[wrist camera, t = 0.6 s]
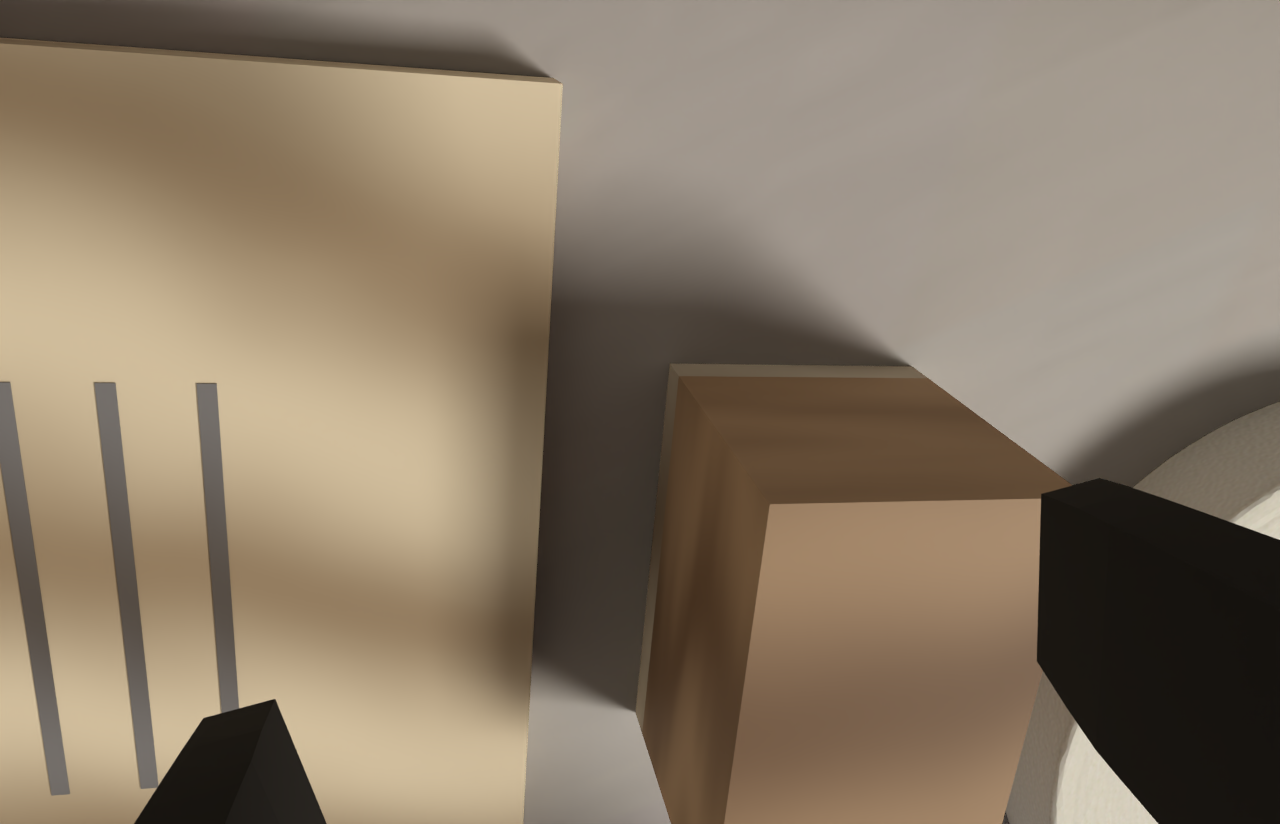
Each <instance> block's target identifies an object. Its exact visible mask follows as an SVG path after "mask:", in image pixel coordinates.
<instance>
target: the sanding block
mask: <svg viewBox="0 0 1280 824" xmlns="http://www.w3.org/2000/svg"><path fill="white" fill-rule="evenodd" d="M1069 486H1072V485H1071V484H1070V483H1069V482H1067V481H1066V480H1065V479H1063V478H1062V477H1060V476H1059V475H1058V474H1056V473H1055V472H1054V471H1052V470H1051V469H1050V468H1048V467H1047V466H1046V465H1044V464H1043V463H1042V462H1040V461H1039V460H1038V459H1036V458H1035V457H1034V456H1032V455H1031V454H1029V453H1028V452H1027V451H1025V450H1024V449H1023V448H1021V447H1020V446H1019V445H1017V444H1016V443H1015V442H1013V441H1012V440H1011V439H1009V438H1008V437H1007V436H1005V435H1004V434H1002V433H1001V432H1000V431H998V430H997V429H996V428H994V427H993V426H992V425H990V424H989V423H988V422H986V421H985V420H984V419H982V418H981V417H980V416H978V415H977V414H976V413H974V412H973V411H971V410H970V409H969V408H967V407H966V406H965V405H963V404H962V403H961V402H959V401H958V400H957V399H955V398H954V397H953V396H951V395H950V394H949V393H947V392H946V391H945V390H943V389H942V388H940V387H939V386H938V385H936V384H935V383H934V382H932V381H931V380H930V379H928V378H927V377H926V376H924V375H923V374H922V373H920V372H919V371H918V370H916V369H915V368H913V367H912V366H840V365H754V364H670V366H669V377H668V387H667V397H666V407H665V417H664V427H663V437H662V448H661V458H660V468H659V478H658V488H657V498H656V508H655V519H654V529H653V539H652V549H651V559H650V569H649V579H648V590H647V600H646V610H645V620H644V630H643V640H642V650H641V661H640V671H639V681H638V691H637V701H636V711H635V712H636V715H637V718H638V722H639V725H640V728H641V731H642V734H643V737H644V740H645V743H646V747H647V750H648V753H649V756H650V759H651V762H652V765H653V768H654V772H655V775H656V778H657V781H658V784H659V787H660V790H661V793H662V797H663V800H664V803H665V806H666V809H667V812H668V815H669V818H670V821H671V824H1002V822H1003V819H1004V815H1005V811H1006V807H1007V804H1008V800H1009V796H1010V792H1011V789H1012V785H1013V781H1014V777H1015V774H1016V770H1017V766H1018V762H1019V759H1020V755H1021V751H1022V747H1023V744H1024V740H1025V736H1026V732H1027V729H1028V725H1029V721H1030V717H1031V714H1032V710H1033V706H1034V702H1035V699H1036V695H1037V691H1038V687H1039V684H1040V680H1041V676H1042V672H1043V670H1042V669H1041V667H1040V666H1039V664H1038V662H1037V629H1038V592H1039V555H1040V517H1041V494H1043V493H1046V492H1050V491H1054V490H1058V489H1061V488H1065V487H1069Z"/></svg>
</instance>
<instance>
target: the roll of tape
mask: <svg viewBox="0 0 1280 824" xmlns="http://www.w3.org/2000/svg"><path fill="white" fill-rule="evenodd" d="M1133 488H1134V489H1138V490H1141V491H1144V492H1147V493H1150V494H1153V495H1156V496H1159V497H1162V498H1164V499H1167V500H1170V501H1173V502H1176V503H1179V504H1182V505H1184V506H1187V507H1190V508H1193V509H1196V510H1199V511H1201V512H1204V513H1207V514H1210V515H1212V516H1215V517H1218V518H1221V519H1223V520H1226V521H1229V522H1232V523H1235V524H1237V525H1240V526H1243V527H1246V528H1248V529H1251V530H1254V531H1257V532H1259V533H1262V534H1265V535H1268V536H1270V537H1273V538H1276V539H1279V540H1280V402H1277V403H1274V404H1271V405H1269V406H1267V407H1264V408H1262V409H1259V410H1257V411H1254V412H1252V413H1249V414H1247V415H1245V416H1243V417H1240V418H1238V419H1236V420H1234V421H1232V422H1230V423H1228V424H1226V425H1224V426H1222V427H1220V428H1218V429H1216V430H1214V431H1213V432H1211V433H1209V434H1208V435H1206V436H1204V437H1203V438H1201V439H1199V440H1197V441H1196V442H1194V443H1192V444H1191V445H1189V446H1188V447H1186V448H1185V449H1183V450H1182V451H1180V452H1179V453H1177V454H1176V455H1174V456H1173V457H1171V458H1170V459H1168V460H1167V461H1166V462H1164V463H1163V464H1162V465H1160V466H1159V467H1158V468H1156V469H1155V470H1154V471H1152V472H1151V473H1150V474H1149V475H1148V476H1146V477H1145V478H1144V479H1143V480H1141V481H1140V482H1139V483H1138V484H1137V485H1135V486H1134V487H1133ZM1006 814H1007V817H1008V821H1009V824H1158V823H1157V822H1156V821H1155V819H1154V818H1153V817H1152V816H1151V815H1150V814H1149V812H1148V811H1147V810H1146V809H1145V808H1144V807H1143V805H1142V804H1141V803H1140V802H1139V801H1138V800H1137V798H1136V797H1135V796H1134V795H1133V794H1132V793H1131V791H1130V790H1129V789H1128V788H1127V787H1126V786H1125V784H1124V783H1123V782H1122V781H1121V780H1120V779H1119V777H1118V776H1117V775H1116V774H1115V773H1114V772H1113V770H1112V769H1111V768H1110V767H1109V766H1108V764H1107V763H1106V762H1105V761H1104V760H1103V758H1102V757H1101V756H1100V755H1099V754H1098V752H1097V751H1096V750H1095V748H1094V747H1093V745H1092V744H1091V743H1090V741H1089V740H1088V738H1087V737H1086V735H1085V734H1084V732H1083V731H1082V730H1081V728H1080V727H1079V725H1078V724H1077V722H1076V721H1075V719H1074V718H1073V716H1072V715H1071V714H1070V712H1069V711H1068V709H1067V708H1066V706H1065V705H1064V703H1063V701H1062V700H1061V698H1060V697H1059V695H1058V694H1057V692H1056V690H1055V689H1054V687H1053V686H1052V684H1051V683H1050V681H1049V680H1048V678H1047V676H1046V675H1045V673H1044V672H1042V676H1041V680H1040V684H1039V687H1038V691H1037V695H1036V699H1035V702H1034V706H1033V710H1032V714H1031V717H1030V721H1029V725H1028V729H1027V732H1026V736H1025V740H1024V744H1023V747H1022V751H1021V755H1020V759H1019V762H1018V766H1017V770H1016V774H1015V777H1014V781H1013V785H1012V789H1011V792H1010V796H1009V800H1008V804H1007V807H1006Z"/></svg>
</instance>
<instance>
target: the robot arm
mask: <svg viewBox="0 0 1280 824" xmlns="http://www.w3.org/2000/svg"><path fill="white" fill-rule="evenodd" d="M1037 662H1038V664H1039V666H1040V667H1041V669H1042V670H1043V672H1044V673H1045V675H1046V676H1047V678H1048V680H1049V681H1050V683H1051V684H1052V686H1053V687H1054V689H1055V690H1056V692H1057V694H1058V695H1059V697H1060V698H1061V700H1062V701H1063V703H1064V705H1065V706H1066V708H1067V709H1068V711H1069V712H1070V714H1071V715H1072V716H1073V718H1074V719H1075V721H1076V722H1077V724H1078V725H1079V727H1080V728H1081V730H1082V731H1083V732H1084V734H1085V735H1086V737H1087V738H1088V740H1089V741H1090V743H1091V744H1092V745H1093V747H1094V748H1095V750H1096V751H1097V752H1098V754H1099V755H1100V756H1101V757H1102V758H1103V760H1104V761H1105V762H1106V763H1107V764H1108V766H1109V767H1110V768H1111V769H1112V770H1113V772H1114V773H1115V774H1116V775H1117V776H1118V777H1119V779H1120V780H1121V781H1122V782H1123V783H1124V784H1125V786H1126V787H1127V788H1128V789H1129V790H1130V791H1131V793H1132V794H1133V795H1134V796H1135V797H1136V798H1137V800H1138V801H1139V802H1140V803H1141V804H1142V805H1143V807H1144V808H1145V809H1146V810H1147V811H1148V812H1149V814H1150V815H1151V816H1152V817H1153V818H1154V819H1155V821H1156V822H1157V823H1158V824H1280V540H1279V539H1276V538H1273V537H1270V536H1268V535H1265V534H1262V533H1259V532H1257V531H1254V530H1251V529H1248V528H1246V527H1243V526H1240V525H1237V524H1235V523H1232V522H1229V521H1226V520H1223V519H1221V518H1218V517H1215V516H1212V515H1210V514H1207V513H1204V512H1201V511H1199V510H1196V509H1193V508H1190V507H1187V506H1184V505H1182V504H1179V503H1176V502H1173V501H1170V500H1167V499H1164V498H1162V497H1159V496H1156V495H1153V494H1150V493H1147V492H1144V491H1141V490H1138V489H1134V488H1131V487H1128V486H1125V485H1122V484H1118V483H1115V482H1111V481H1108V480H1104V479H1100V478H1099V479H1095V480H1091V481H1087V482H1084V483H1080V484H1076V485H1072V486H1069V487H1065V488H1061V489H1058V490H1054V491H1050V492H1046V493H1043V494H1041V517H1040V555H1039V592H1038V629H1037ZM134 824H327V823H326V821H325V818H324V816H323V813H322V811H321V809H320V806H319V804H318V801H317V799H316V796H315V794H314V792H313V789H312V787H311V784H310V782H309V779H308V777H307V775H306V772H305V770H304V767H303V765H302V763H301V760H300V758H299V755H298V753H297V750H296V748H295V746H294V743H293V741H292V738H291V736H290V733H289V731H288V729H287V726H286V724H285V721H284V719H283V716H282V714H281V712H280V709H279V707H278V704H277V702H276V699H273V700H269V701H265V702H261V703H258V704H254V705H250V706H246V707H243V708H239V709H235V710H231V711H228V712H224V713H220V714H217V715H213V716H209V717H205V718H203V719H202V721H201V722H200V724H199V725H198V727H197V728H196V730H195V731H194V733H193V734H192V736H191V737H190V739H189V740H188V742H187V743H186V744H185V746H184V747H183V749H182V750H181V752H180V753H179V755H178V756H177V758H176V759H175V761H174V763H173V764H172V766H171V767H170V769H169V770H168V772H167V773H166V775H165V776H164V778H163V779H162V781H161V782H160V784H159V786H158V787H157V789H156V790H155V792H154V793H153V795H152V796H151V798H150V799H149V801H148V803H147V804H146V806H145V807H144V809H143V810H142V812H141V813H140V815H139V816H138V818H137V820H136V821H135V823H134Z"/></svg>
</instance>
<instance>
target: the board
mask: <svg viewBox="0 0 1280 824" xmlns="http://www.w3.org/2000/svg"><path fill="white" fill-rule="evenodd" d="M562 88H563V84H562V83H561V82H559V81H557V80H555V79H554V78H547V77H534V76H520V75H506V74H493V73H479V72H465V71H452V70H438V69H424V68H411V67H397V66H383V65H370V64H356V63H342V62H329V61H315V60H301V59H288V58H274V57H260V56H247V55H233V54H219V53H206V52H192V51H178V50H164V49H151V48H137V47H123V46H110V45H96V44H82V43H69V42H55V41H41V40H28V39H14V38H0V824H134V823H135V821H136V820H137V818H138V816H139V815H140V813H141V812H142V810H143V809H144V807H145V806H146V804H147V803H148V801H149V799H150V798H151V796H152V795H153V793H154V792H155V790H156V789H157V787H158V786H159V784H160V782H161V781H162V779H163V778H164V776H165V775H166V773H167V772H168V770H169V769H170V767H171V766H172V764H173V763H174V761H175V759H176V758H177V756H178V755H179V753H180V752H181V750H182V749H183V747H184V746H185V744H186V743H187V742H188V740H189V739H190V737H191V736H192V734H193V733H194V731H195V730H196V728H197V727H198V725H199V724H200V722H201V721H202V719H203V718H205V717H209V716H213V715H217V714H220V713H224V712H228V711H231V710H235V709H239V708H243V707H246V706H250V705H254V704H258V703H261V702H265V701H269V700H273V699H276V702H277V704H278V707H279V709H280V712H281V714H282V716H283V719H284V721H285V724H286V726H287V729H288V731H289V733H290V736H291V738H292V741H293V743H294V746H295V748H296V750H297V753H298V755H299V758H300V760H301V763H302V765H303V767H304V770H305V772H306V775H307V777H308V779H309V782H310V784H311V787H312V789H313V792H314V794H315V796H316V799H317V801H318V804H319V806H320V809H321V811H322V813H323V816H324V818H325V821H326V823H327V824H523V816H524V797H525V778H526V760H527V741H528V722H529V704H530V685H531V666H532V648H533V629H534V610H535V592H536V573H537V554H538V536H539V517H540V498H541V480H542V461H543V442H544V424H545V405H546V386H547V368H548V349H549V330H550V312H551V293H552V274H553V256H554V237H555V218H556V200H557V181H558V162H559V144H560V125H561V106H562Z"/></svg>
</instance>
